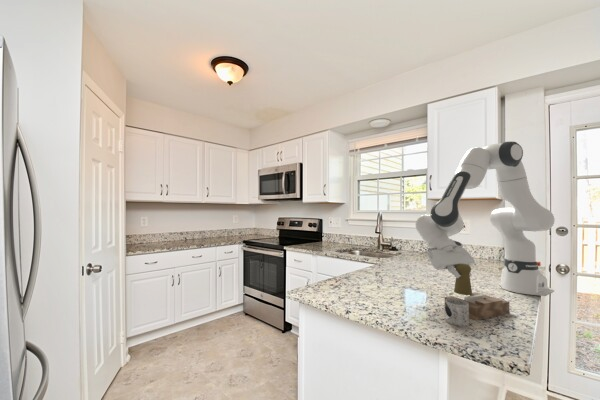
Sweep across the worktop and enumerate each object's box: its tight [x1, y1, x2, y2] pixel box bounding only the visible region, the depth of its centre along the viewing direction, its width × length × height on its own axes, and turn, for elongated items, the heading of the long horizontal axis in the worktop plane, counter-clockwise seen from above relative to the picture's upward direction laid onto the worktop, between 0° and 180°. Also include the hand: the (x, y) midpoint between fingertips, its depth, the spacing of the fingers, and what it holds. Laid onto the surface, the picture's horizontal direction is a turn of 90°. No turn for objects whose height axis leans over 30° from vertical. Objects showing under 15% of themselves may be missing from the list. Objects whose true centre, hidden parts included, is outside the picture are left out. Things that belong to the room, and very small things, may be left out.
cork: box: [453, 264, 473, 296], centre depth 104 cm, size 6×6×11 cm
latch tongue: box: [463, 293, 485, 303], centre depth 100 cm, size 9×1×4 cm, turn 113°
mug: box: [444, 299, 470, 328], centre depth 86 cm, size 10×7×7 cm
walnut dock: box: [444, 291, 510, 321], centre depth 99 cm, size 18×12×5 cm, turn 113°
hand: (464, 276), depth 103 cm, fingers closed on cork, 4 cm apart
